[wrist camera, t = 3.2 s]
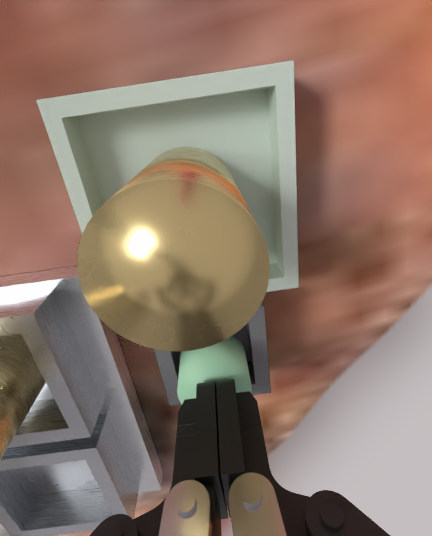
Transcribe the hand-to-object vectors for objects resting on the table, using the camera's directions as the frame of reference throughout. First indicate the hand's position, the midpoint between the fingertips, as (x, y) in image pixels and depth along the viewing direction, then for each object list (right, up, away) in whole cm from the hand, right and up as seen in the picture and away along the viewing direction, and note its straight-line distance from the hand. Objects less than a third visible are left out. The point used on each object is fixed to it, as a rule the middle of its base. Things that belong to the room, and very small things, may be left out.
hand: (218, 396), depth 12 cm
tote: (-1, +8, +1) cm, 8 cm away
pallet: (-10, -2, +6) cm, 12 cm away
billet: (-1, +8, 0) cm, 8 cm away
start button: (0, +1, +2) cm, 2 cm away
